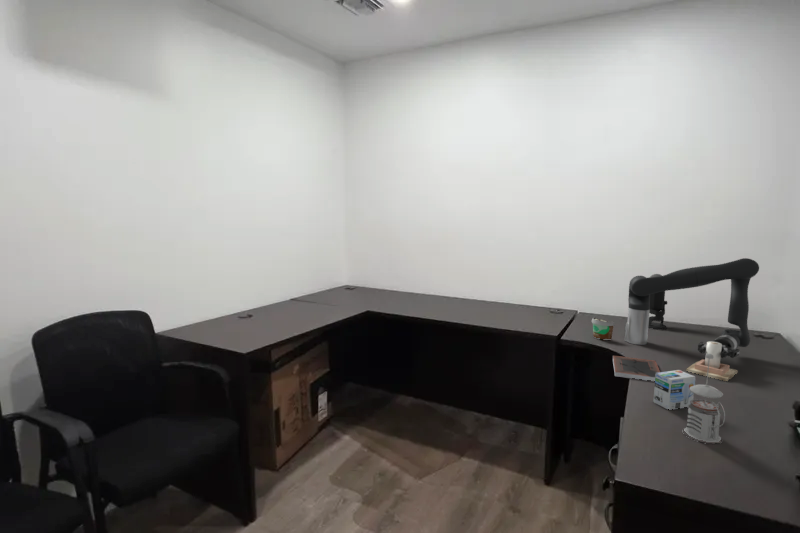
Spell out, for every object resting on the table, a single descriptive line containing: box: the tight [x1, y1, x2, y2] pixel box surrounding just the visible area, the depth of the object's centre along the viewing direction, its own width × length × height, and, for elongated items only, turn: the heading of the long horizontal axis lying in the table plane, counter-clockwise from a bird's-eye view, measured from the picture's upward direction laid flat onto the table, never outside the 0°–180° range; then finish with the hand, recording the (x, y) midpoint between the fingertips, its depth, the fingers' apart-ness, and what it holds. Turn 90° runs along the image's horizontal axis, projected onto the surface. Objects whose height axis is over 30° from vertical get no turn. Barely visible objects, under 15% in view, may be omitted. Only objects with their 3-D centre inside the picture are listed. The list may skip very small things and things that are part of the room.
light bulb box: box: [653, 369, 696, 411], centre depth 150 cm, size 11×7×11 cm, turn 106°
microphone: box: [648, 273, 668, 330], centre depth 247 cm, size 13×12×30 cm
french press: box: [683, 353, 726, 442], centre depth 128 cm, size 10×12×25 cm
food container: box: [591, 316, 616, 340], centre depth 226 cm, size 12×6×10 cm, turn 25°
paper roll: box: [704, 340, 722, 369], centre depth 179 cm, size 5×5×11 cm
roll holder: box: [685, 358, 739, 382], centre depth 180 cm, size 14×14×3 cm
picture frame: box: [612, 355, 661, 382], centre depth 183 cm, size 16×2×22 cm
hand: (711, 353), depth 177 cm, fingers open, 6 cm apart
